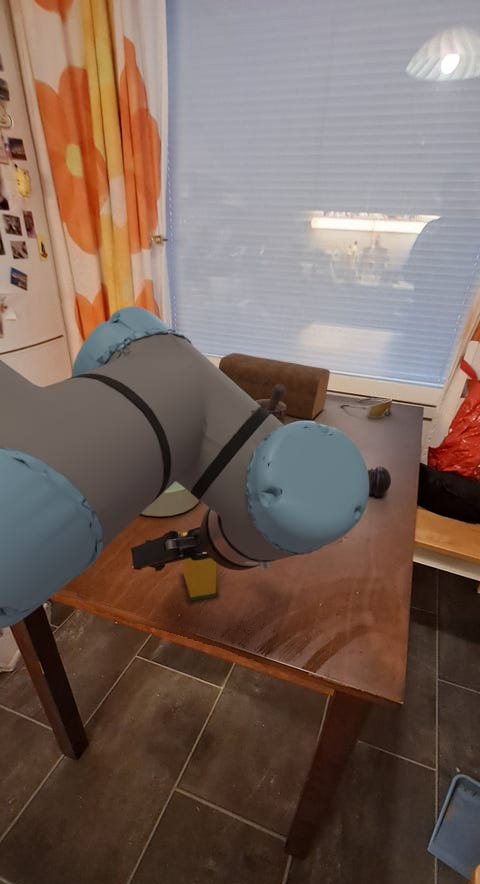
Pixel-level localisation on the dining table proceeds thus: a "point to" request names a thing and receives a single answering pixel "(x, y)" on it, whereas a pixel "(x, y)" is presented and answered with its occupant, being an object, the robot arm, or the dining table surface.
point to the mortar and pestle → (275, 403)
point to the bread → (279, 382)
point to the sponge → (200, 577)
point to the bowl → (172, 502)
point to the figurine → (379, 481)
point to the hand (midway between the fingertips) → (205, 553)
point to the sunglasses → (375, 407)
